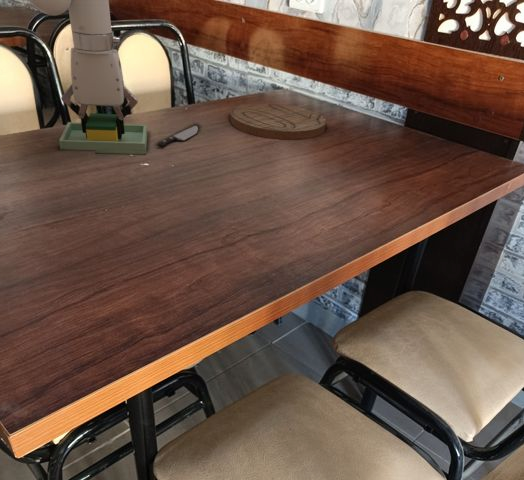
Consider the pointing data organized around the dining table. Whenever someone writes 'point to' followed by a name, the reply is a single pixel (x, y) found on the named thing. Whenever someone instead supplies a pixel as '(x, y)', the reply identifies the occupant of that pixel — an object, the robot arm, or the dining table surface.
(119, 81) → the robot arm
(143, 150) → the tray
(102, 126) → the sponge
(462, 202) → the dining table surface
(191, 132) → the chef's knife
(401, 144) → the dining table surface
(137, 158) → the dining table surface
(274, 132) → the trivet
